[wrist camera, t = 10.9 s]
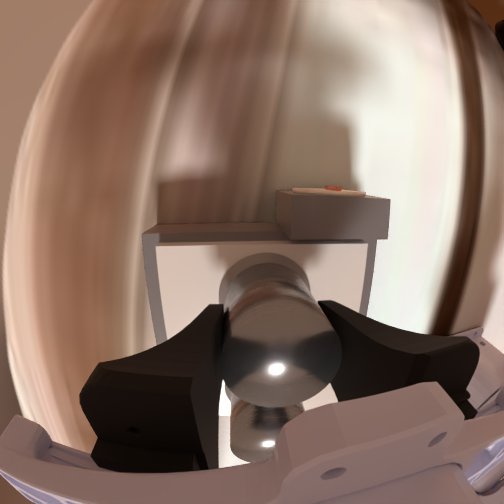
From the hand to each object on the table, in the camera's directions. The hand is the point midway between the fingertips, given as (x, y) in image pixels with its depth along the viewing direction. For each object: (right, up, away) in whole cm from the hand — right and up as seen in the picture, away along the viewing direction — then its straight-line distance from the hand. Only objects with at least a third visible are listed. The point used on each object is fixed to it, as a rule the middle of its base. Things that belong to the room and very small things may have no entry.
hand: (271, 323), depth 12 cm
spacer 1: (0, +1, +2) cm, 2 cm away
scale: (0, 0, +7) cm, 7 cm away
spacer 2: (0, -5, +4) cm, 6 cm away
